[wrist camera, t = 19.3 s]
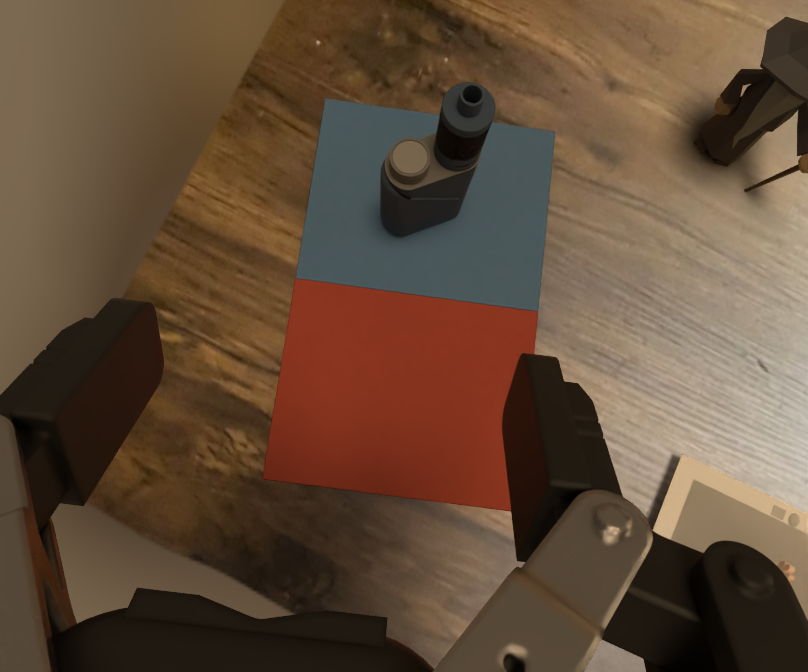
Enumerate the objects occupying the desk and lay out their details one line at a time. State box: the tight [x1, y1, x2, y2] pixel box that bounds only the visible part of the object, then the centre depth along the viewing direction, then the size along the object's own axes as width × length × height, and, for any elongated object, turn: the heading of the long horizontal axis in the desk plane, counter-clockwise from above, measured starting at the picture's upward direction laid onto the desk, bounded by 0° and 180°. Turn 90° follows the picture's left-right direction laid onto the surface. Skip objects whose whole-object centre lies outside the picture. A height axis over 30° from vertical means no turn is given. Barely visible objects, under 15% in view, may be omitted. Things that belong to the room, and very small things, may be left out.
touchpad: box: [652, 454, 808, 620], centre depth 32 cm, size 8×15×2 cm, turn 64°
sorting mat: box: [262, 99, 555, 511], centre depth 35 cm, size 15×24×1 cm, turn 173°
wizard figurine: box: [694, 17, 808, 192], centre depth 31 cm, size 8×6×12 cm
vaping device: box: [380, 82, 495, 236], centre depth 29 cm, size 3×5×12 cm, turn 111°
